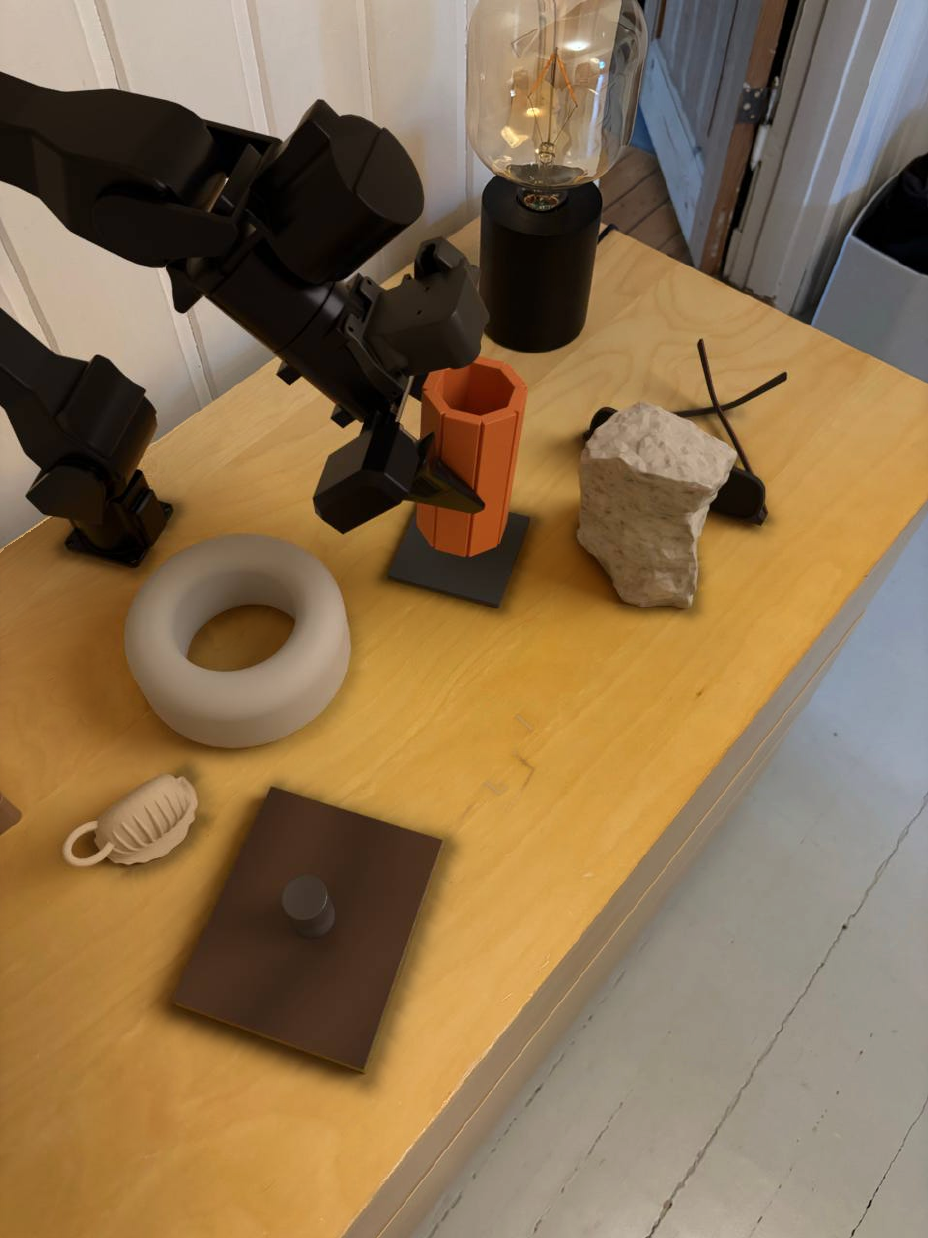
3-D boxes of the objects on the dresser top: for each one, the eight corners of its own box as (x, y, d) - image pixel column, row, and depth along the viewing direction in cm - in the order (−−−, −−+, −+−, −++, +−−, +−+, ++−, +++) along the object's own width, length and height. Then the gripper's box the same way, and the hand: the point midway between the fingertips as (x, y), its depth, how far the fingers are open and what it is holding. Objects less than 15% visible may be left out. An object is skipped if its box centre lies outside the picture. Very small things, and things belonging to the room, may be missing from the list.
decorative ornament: (216, 819, 62) (197, 787, 57) (101, 899, 59) (72, 872, 54) (184, 775, 64) (164, 740, 59) (71, 851, 61) (41, 821, 56)
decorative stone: (717, 537, 75) (766, 402, 63) (683, 625, 70) (730, 497, 58) (596, 497, 77) (621, 359, 65) (556, 580, 72) (575, 448, 60)
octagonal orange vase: (444, 567, 63) (455, 434, 53) (403, 507, 66) (407, 371, 56) (520, 537, 65) (544, 404, 55) (477, 480, 68) (493, 345, 58)
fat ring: (321, 555, 74) (309, 500, 68) (378, 714, 66) (371, 667, 60) (129, 610, 71) (101, 557, 65) (166, 783, 63) (138, 741, 58)
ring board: (177, 1006, 56) (151, 985, 51) (274, 794, 63) (259, 760, 58) (366, 1074, 54) (357, 1059, 49) (444, 847, 61) (442, 816, 56)
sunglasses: (826, 432, 81) (846, 389, 77) (753, 539, 75) (770, 498, 71) (656, 355, 86) (666, 311, 82) (574, 449, 80) (580, 406, 76)
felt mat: (387, 578, 73) (386, 575, 72) (425, 494, 77) (425, 490, 77) (498, 608, 71) (498, 605, 71) (530, 520, 76) (530, 516, 75)
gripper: (348, 358, 43) (565, 545, 51) (434, 134, 53) (604, 320, 61) (219, 453, 50) (426, 602, 58) (316, 241, 60) (481, 394, 68)
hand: (489, 473), depth 61 cm, fingers closed on octagonal orange vase, 6 cm apart
